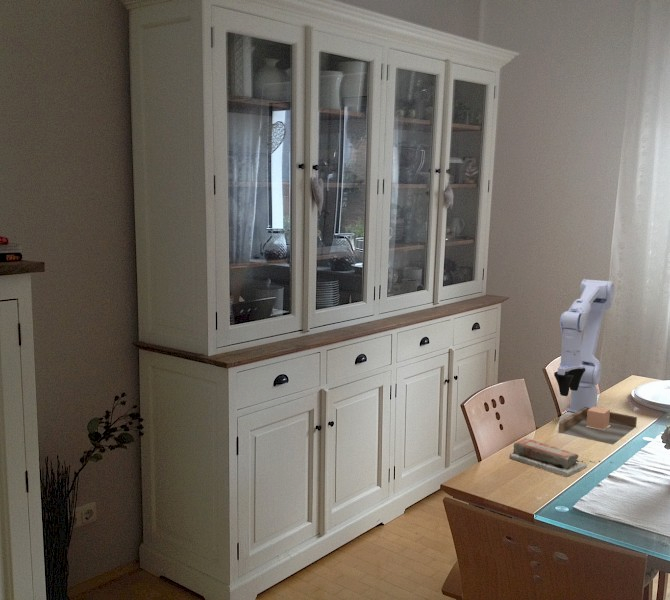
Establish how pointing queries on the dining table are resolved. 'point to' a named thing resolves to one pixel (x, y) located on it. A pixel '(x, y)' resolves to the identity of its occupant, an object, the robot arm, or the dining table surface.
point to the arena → (610, 434)
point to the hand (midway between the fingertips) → (568, 392)
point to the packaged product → (546, 457)
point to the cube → (598, 417)
